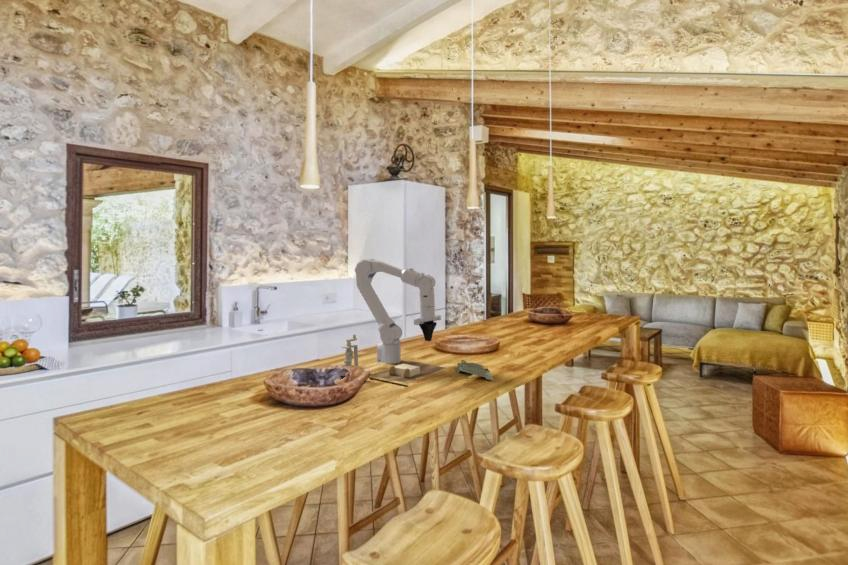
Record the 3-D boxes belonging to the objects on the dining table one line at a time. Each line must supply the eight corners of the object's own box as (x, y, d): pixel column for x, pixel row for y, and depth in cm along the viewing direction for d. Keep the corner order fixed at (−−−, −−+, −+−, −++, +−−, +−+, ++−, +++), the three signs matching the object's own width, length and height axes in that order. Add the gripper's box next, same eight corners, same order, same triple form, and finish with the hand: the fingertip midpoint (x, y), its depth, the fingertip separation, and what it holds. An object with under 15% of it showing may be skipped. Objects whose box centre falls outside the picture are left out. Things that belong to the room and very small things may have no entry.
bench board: (369, 379, 176) (369, 366, 175) (411, 365, 195) (411, 354, 194) (405, 386, 165) (404, 373, 165) (446, 371, 184) (446, 359, 184)
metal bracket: (459, 366, 170) (456, 356, 185) (455, 381, 171) (452, 370, 186) (499, 376, 171) (492, 366, 186) (494, 392, 171) (488, 380, 186)
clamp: (336, 379, 176) (335, 338, 175) (349, 372, 185) (348, 333, 184) (346, 380, 175) (345, 339, 173) (359, 373, 184) (358, 334, 182)
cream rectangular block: (392, 373, 177) (392, 366, 177) (403, 370, 181) (403, 363, 181) (409, 377, 172) (409, 370, 172) (420, 373, 177) (419, 366, 176)
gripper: (423, 309, 182) (424, 345, 183) (446, 304, 193) (447, 338, 194) (409, 308, 186) (410, 343, 187) (432, 303, 198) (433, 336, 199)
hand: (428, 340), depth 191 cm, fingers closed
